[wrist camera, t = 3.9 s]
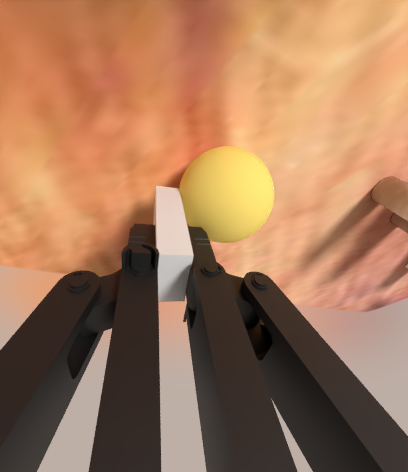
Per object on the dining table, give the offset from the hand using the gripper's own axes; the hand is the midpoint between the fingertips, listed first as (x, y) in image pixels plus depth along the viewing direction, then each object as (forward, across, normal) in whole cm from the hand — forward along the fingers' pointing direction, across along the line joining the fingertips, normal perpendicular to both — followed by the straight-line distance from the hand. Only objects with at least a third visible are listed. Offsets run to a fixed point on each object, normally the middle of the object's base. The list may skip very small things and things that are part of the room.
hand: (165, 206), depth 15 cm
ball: (0, +4, +1) cm, 4 cm away
